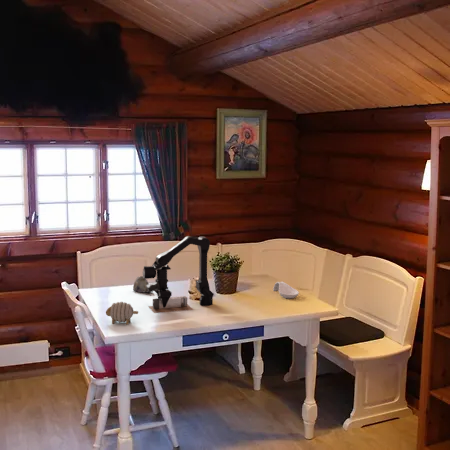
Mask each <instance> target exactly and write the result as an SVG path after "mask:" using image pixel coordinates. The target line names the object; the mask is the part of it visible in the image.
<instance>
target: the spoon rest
mask: <svg viewBox="0 0 450 450" xmlns="http://www.w3.org/2000/svg"><path fill="white" fill-rule="evenodd" d="M272 288H273V289H272V290H273V292H278V293H279V295H280V297H282V298H283V299H289V300H290V299H295V298H297V297H298V295H299V293H300V292H299V291H298V290H297V289H296V288H293V287H292V286H291V285H289V284H288V283H286V282H284V281H276V282H275V283H274V285H273V287H272Z"/></svg>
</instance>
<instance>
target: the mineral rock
mask: <svg viewBox="0 0 450 450" xmlns="http://www.w3.org/2000/svg"><path fill="white" fill-rule="evenodd" d="M148 284H150V283H149V282H148V279H144V278H143V275H141V276H136V279H135V280H134V283H133V286H132V287H133V289H132V290H133V292H137V293H138V292H139V293H143V294H144V293H150V292H149V291H148V289H147V287H146V286H147V285H148ZM153 292H154V291H152V292H151V293H153Z"/></svg>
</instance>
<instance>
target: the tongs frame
mask: <svg viewBox="0 0 450 450" xmlns="http://www.w3.org/2000/svg"><path fill="white" fill-rule="evenodd" d="M181 297H184V306H185V307H186V306H187V304H188V297H187V296H186V295H185V296H175V297H174V296H171V297H170V298H181ZM156 299H162V298H158V297H157V298H152V301H153V300H156ZM152 306H153V308H154V303H153V302H152Z"/></svg>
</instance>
